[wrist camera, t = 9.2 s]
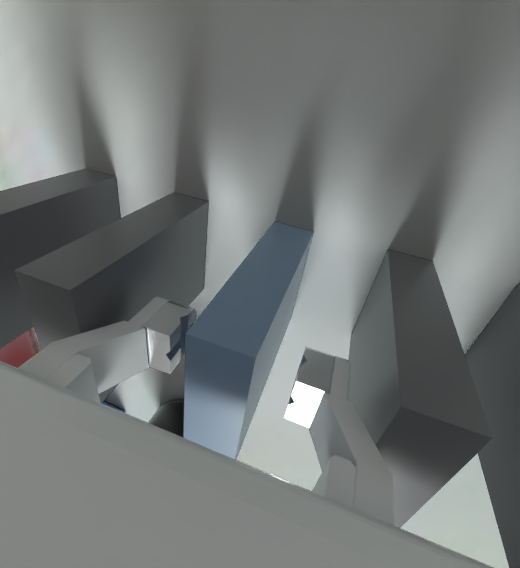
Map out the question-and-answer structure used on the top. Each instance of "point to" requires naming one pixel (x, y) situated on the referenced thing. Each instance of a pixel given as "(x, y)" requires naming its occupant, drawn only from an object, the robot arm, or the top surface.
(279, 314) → the domino
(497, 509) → the domino
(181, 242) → the domino
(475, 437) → the domino
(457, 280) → the top surface
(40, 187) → the domino
